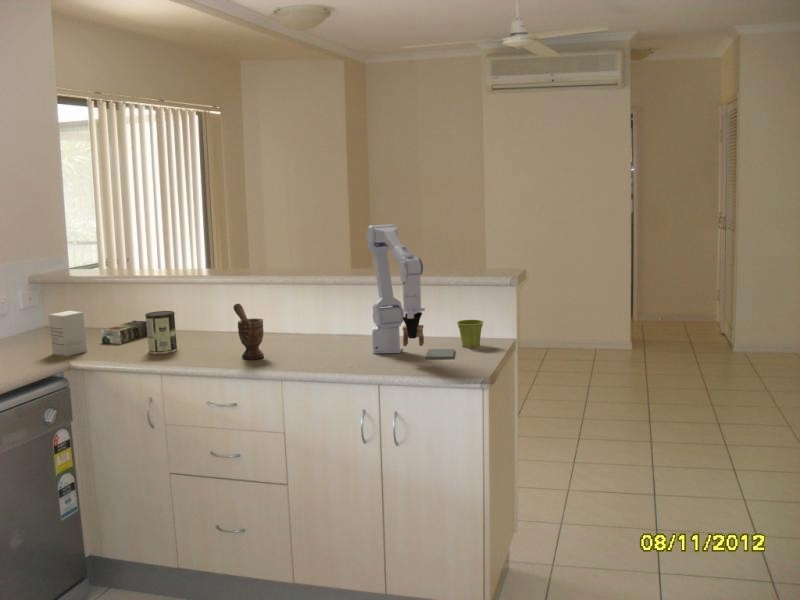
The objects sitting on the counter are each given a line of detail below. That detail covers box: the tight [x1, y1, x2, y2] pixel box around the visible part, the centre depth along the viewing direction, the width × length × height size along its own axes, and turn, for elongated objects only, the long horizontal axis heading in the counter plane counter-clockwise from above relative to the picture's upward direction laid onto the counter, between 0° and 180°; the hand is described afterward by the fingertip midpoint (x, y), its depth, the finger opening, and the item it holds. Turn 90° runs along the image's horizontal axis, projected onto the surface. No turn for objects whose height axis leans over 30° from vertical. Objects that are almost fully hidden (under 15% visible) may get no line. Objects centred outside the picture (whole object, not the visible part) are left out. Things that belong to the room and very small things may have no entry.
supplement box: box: [48, 310, 88, 357], centre depth 325 cm, size 9×9×15 cm
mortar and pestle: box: [233, 302, 265, 361], centre depth 304 cm, size 12×9×20 cm
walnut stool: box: [402, 324, 425, 347], centre depth 289 cm, size 6×5×6 cm
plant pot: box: [456, 319, 484, 349], centre depth 313 cm, size 9×9×9 cm
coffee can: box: [144, 310, 178, 355], centre depth 323 cm, size 10×10×14 cm
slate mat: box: [425, 348, 455, 360], centre depth 301 cm, size 9×12×1 cm
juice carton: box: [101, 320, 148, 345], centre depth 350 cm, size 20×10×6 cm, turn 157°
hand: (413, 336), depth 289 cm, fingers closed on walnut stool, 5 cm apart
